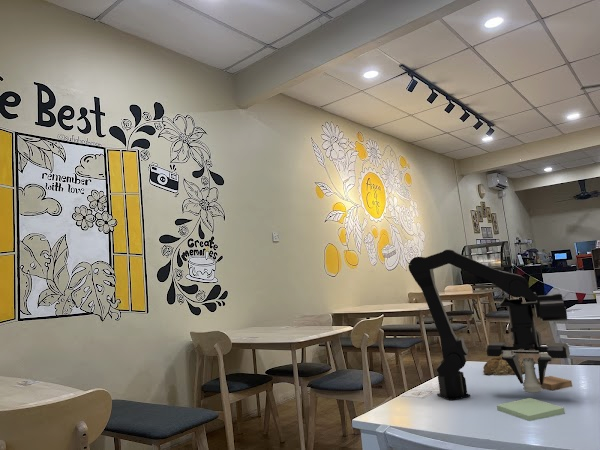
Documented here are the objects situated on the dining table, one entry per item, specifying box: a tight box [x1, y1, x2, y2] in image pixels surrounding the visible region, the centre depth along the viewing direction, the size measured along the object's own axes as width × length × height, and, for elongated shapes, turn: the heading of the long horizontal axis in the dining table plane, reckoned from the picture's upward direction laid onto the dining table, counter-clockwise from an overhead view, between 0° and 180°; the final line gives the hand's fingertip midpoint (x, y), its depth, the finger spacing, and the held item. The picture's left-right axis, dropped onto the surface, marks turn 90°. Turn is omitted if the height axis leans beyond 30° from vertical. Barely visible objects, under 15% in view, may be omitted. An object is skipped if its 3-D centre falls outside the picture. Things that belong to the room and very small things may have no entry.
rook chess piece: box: [521, 357, 543, 394], centre depth 114 cm, size 4×4×8 cm
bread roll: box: [482, 356, 525, 376], centre depth 144 cm, size 13×12×5 cm
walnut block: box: [537, 375, 573, 391], centre depth 122 cm, size 7×7×2 cm
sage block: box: [496, 397, 566, 422], centre depth 103 cm, size 10×10×2 cm
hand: (531, 383), depth 113 cm, fingers closed on rook chess piece, 4 cm apart
